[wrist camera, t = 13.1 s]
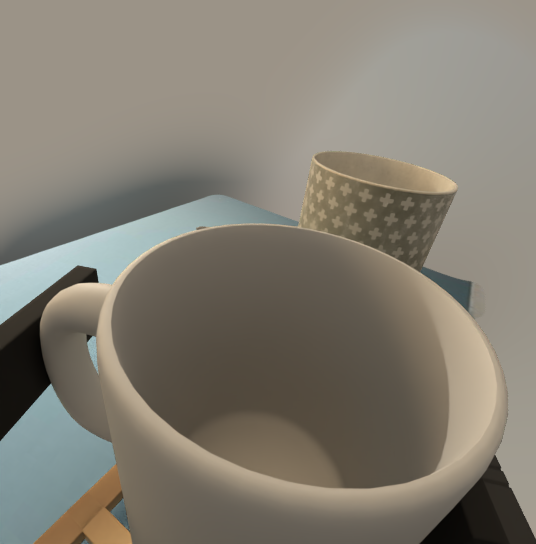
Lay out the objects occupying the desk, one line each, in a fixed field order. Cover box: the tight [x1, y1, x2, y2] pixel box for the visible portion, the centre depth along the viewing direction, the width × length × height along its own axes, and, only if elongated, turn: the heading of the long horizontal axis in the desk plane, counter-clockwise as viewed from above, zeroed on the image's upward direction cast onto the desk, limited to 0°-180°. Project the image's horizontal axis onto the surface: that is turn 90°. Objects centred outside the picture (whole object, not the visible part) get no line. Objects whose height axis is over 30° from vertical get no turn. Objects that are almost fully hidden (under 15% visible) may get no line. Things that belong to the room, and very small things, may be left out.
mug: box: [40, 224, 508, 544], centre depth 10 cm, size 12×8×11 cm
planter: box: [298, 151, 458, 272], centre depth 48 cm, size 19×19×18 cm
